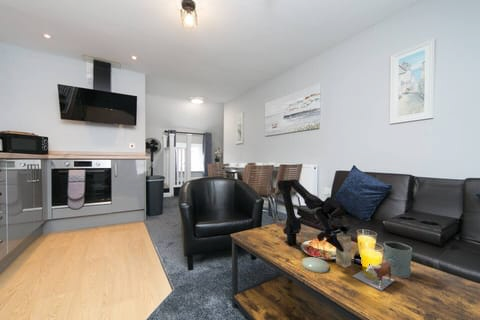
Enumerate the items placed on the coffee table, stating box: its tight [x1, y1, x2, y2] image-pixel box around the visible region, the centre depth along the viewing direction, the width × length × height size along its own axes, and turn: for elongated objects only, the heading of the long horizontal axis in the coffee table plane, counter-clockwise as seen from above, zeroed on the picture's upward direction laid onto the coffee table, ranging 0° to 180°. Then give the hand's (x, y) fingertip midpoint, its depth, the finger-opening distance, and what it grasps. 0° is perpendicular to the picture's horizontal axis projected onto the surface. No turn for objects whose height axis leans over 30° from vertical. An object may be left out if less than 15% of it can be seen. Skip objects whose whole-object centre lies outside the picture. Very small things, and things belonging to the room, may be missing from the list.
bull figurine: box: [365, 261, 392, 287], centre depth 80 cm, size 4×13×8 cm, turn 113°
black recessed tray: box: [351, 252, 362, 267], centre depth 96 cm, size 12×7×5 cm, turn 48°
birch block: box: [335, 234, 352, 269], centre depth 89 cm, size 4×4×13 cm
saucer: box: [301, 256, 330, 274], centre depth 93 cm, size 12×12×1 cm
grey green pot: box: [383, 241, 413, 279], centre depth 88 cm, size 10×10×12 cm
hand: (346, 250), depth 88 cm, fingers closed on birch block, 4 cm apart
